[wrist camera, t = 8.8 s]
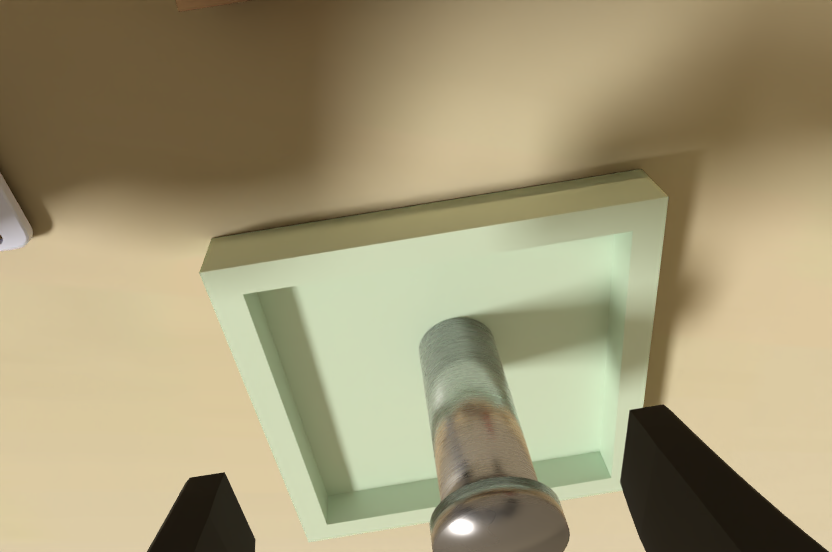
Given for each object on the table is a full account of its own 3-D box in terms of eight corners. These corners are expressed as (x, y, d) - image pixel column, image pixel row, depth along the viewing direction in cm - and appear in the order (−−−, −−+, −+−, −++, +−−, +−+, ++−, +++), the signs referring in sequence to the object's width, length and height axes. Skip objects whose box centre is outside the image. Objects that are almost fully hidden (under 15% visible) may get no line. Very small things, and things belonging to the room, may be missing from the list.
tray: (311, 501, 27) (308, 542, 26) (212, 238, 19) (199, 272, 18) (615, 451, 27) (633, 488, 26) (641, 169, 19) (668, 196, 18)
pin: (408, 386, 23) (432, 589, 17) (407, 311, 21) (434, 510, 15) (501, 379, 23) (559, 576, 17) (509, 305, 21) (579, 498, 15)
